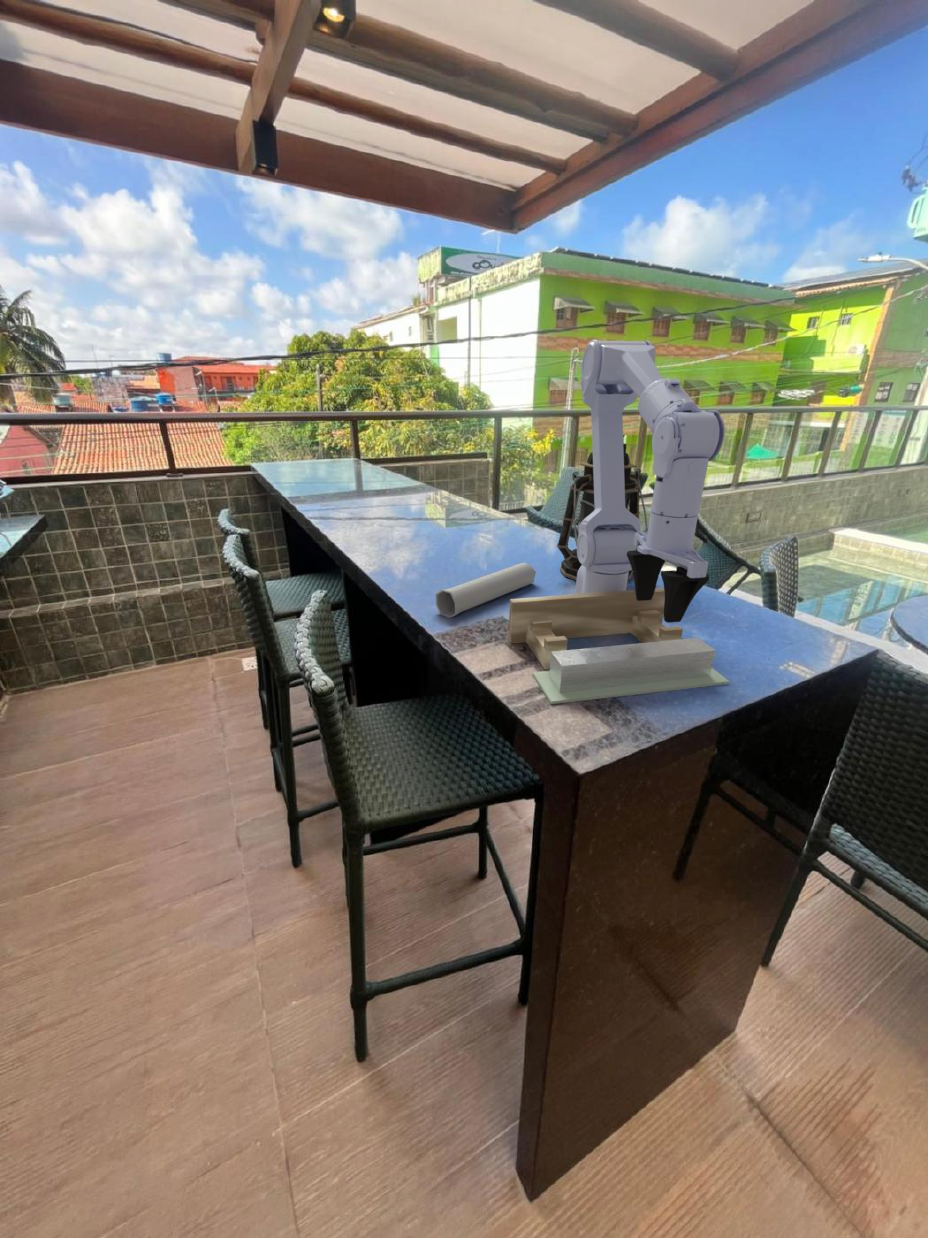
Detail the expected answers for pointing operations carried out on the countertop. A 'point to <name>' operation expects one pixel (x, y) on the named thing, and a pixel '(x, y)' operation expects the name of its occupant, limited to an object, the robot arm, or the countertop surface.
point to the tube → (483, 589)
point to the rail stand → (586, 619)
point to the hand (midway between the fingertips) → (657, 609)
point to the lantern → (587, 507)
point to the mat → (623, 688)
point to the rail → (630, 664)
